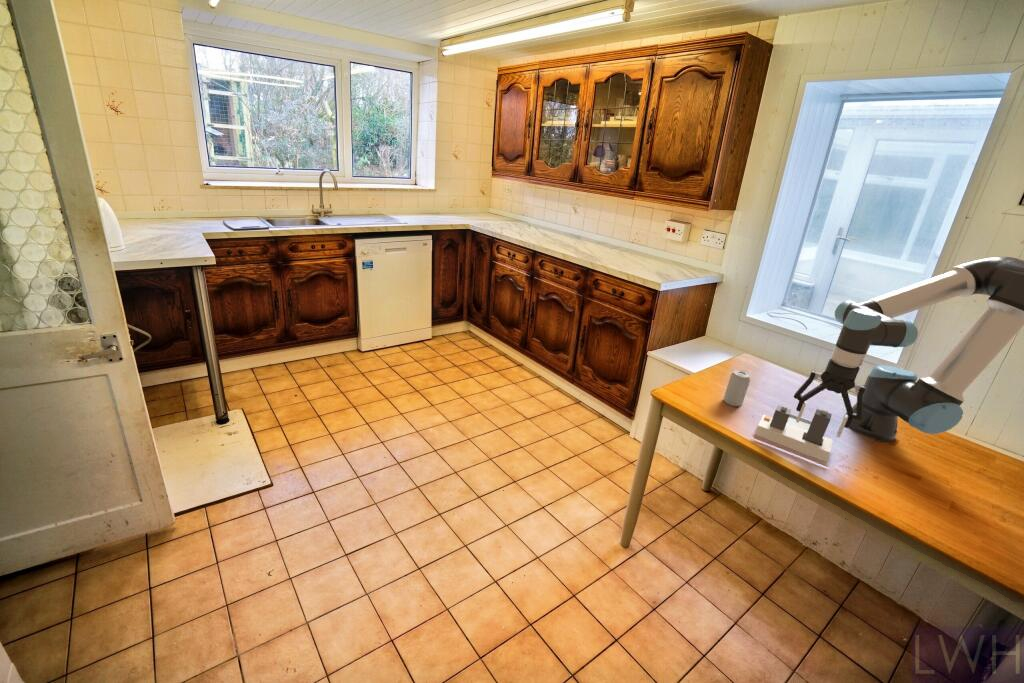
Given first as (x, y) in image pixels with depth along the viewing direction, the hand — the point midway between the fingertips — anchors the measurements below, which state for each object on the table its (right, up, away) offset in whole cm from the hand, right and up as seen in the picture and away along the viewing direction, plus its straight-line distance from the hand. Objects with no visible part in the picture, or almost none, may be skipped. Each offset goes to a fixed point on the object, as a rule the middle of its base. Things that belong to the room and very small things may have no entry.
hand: (817, 427), depth 145 cm
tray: (+5, -3, +15) cm, 16 cm away
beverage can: (-14, +4, +27) cm, 30 cm away
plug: (-1, -6, +3) cm, 7 cm away
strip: (-5, -6, +6) cm, 10 cm away
